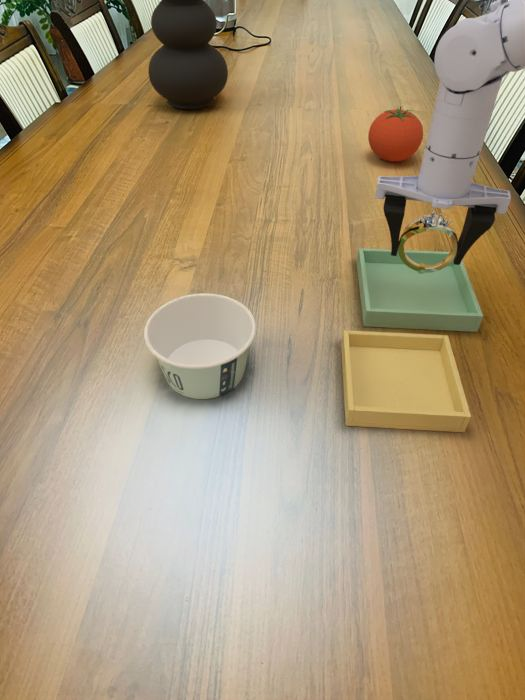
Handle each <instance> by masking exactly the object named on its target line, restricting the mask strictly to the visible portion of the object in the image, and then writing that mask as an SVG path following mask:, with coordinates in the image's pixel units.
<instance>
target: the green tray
mask: <svg viewBox="0 0 525 700" xmlns="http://www.w3.org/2000/svg"><path fill="white" fill-rule="evenodd" d="M391 249H392V248H390V249H389V248H388V249H387V248H368V247H367V248H366V247H364V248H363V247H361V248H360V247H359V248H358V251H357V259H356V271H357V279H358V288H359V289H358V290H359V297H360V299H359V300H360V308H361V315H362V325H363V327H367V328H386V329H387V328H388V329H407V330H408V329H409V330H430V331H451V332H469V333H470V332H472V333H477V332H479V329H480V327H481V323H482V321H483V319H484V314H483V311H482V309H481V306H480V303H479V301H478V298H477V295H476V293H475V290H474V288H473V287H474V286H473V284H472V282H471V280H470V276H469V274H468V271H467V269H466V266H465V263H464V261H463V260H462V261H461V263H460V265H455V264H454V259H453V261H452V262H451V263H450V264H449V265H448V266H446V267H445V268H443V269H441V270H439V271H436V272H431V273H424V274H420V273H418V271H415V270H413V269H411V268H409V267H408V266H406V265H405V264H404V263H403V262H402V260H401V259H400V256H399V253H398V252H397V256H392V255H391ZM404 251H405V253H406V255H407V256H408V258H409V259H410V260H412V261H413V262H415V263H417V264H420V263H424V264H426V265H435V264H438V263H440V262H442V261H443V260H444V259H445V258H446V257H447V256H448V255H449V253H450V251H441V250H440V251H438V250H437V251H436V250H416V249H414V250H412V249H404Z"/></svg>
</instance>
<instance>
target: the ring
mask: <svg viewBox="0 0 525 700" xmlns="http://www.w3.org/2000/svg"><path fill="white" fill-rule="evenodd" d="M446 219H447V216H445V215H444V216H443V217H442V213H438V214H436V211H432V212H431V214H424V215H422V216H420V217H418V218H415V219H414V220H412V221H411V222H410V223H408V224H407V226H406V227H405V228H404V230H403V231H402V233H401V234H400V236H399V244H398V253H399V256H400V259H401V260H402V262H403V263H404V264H405V265H406V266H408V267H409V268H411V269H413V270H415V271H418V273H420V274H424V273H431V272H436V271H439V270H441V269H443V268H445V267H446V266H448V265H449V264H450V263H451V262H452V261H453V259H454V257H455V255H456V252H457V248H458V240H459V238H458V235H457V232H456V231H455V229H454V228H453V227H452V226H451V225H450V223H451V222H452V220H451V219H448V220H447V221H446ZM421 224H422V225H421ZM427 230H432V231H440V232H443V233H445V234H446V235H447V236H448V238H449V239H450V244H451V246H450V250H449V252H450V253H449V255H448V256H447V257H446V258H445V259H444V260H443V261H442V262H440V263H438V264H435V265H426V264H424V263H420V264H417V263H415V262H413V261H412V260H410V259H409V258H408V256H407V255H406V253H405V251H404V250H405V243H407V241H408V240H409V239H410V238H412V237H413V236H415V235H418V234H422V233H424V232H425V233H426V231H427Z"/></svg>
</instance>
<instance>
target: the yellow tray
mask: <svg viewBox="0 0 525 700" xmlns="http://www.w3.org/2000/svg"><path fill="white" fill-rule="evenodd" d="M340 351H341V369H342V387H343V402H344V418H345V419H344V420H345V421H344V422H345V426H346V427H349V426H350V427H364V428H380V429H398V430H399V429H400V430H413V431H414V430H415V431H416V430H417V431H431V432H432V431H436V432H448V433H449V432H450V433H451V432H452V433H465V432H466V429H467V427H468V426H469V423H470V420H471V418H472V414H471V411H470V408H469V403H468V399H467V397H466V394H465V391H464V387H463V384H462V380H461V376H460V372H459V369H458V366H457V365H458V364H457V362H456V358H455V355H454V352H453V348H452V344H451V341H450V337H449V335H448V334H428V333H408V332H388V331H368V330H367V331H366V330H347V329H346V330H345V329H344V330H343V331H342V338H341V343H340Z"/></svg>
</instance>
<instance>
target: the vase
mask: <svg viewBox="0 0 525 700" xmlns="http://www.w3.org/2000/svg"><path fill="white" fill-rule="evenodd" d="M150 18H151V19H150V26H151V30H152V32H153V34H154V36H155V37H156V39H157V40H158V41H159V42H160V44H162V45H161V47H159V48H158V49H157V50H155V52H154V53H153V54H152V56H151V58H150V60H149V63H148V78H149V81H150V84H151V86H152V87H153V89H154V91H155V92H156V93H157V95H160V96H161V97H162V98H164V99H165V100H167V101H166V102H167V104H168V105H169V106H170V107H173V108H175V109H181V110H199V109H203V108H207V107H209V106H211V105H212V104H214V102H215V98H216V97H217V96H218V95H220V94H221V93H222V91H223V90H224V89H225V87H226V84H227V81H228V77H229V76H228V75H229V71H228V69H229V68H228V64H227V62H226V59H225V57H224V56H223V54H222V53H221V52H220V51H219V50H218V49H217V48H216V47H214V46H212V45H211V44H210V42H211V41H212V39H213V38H214V36H215V34H216V31H217V28H218V27H217V26H218V23H217V16H216V14H215V12H214V11H213V9H212V8H211V6H210V5H209V4H208V3H207V2H206V1H205V0H160V1H159V2H158V4H157V6H156V7H155V8H154V10H153V11H152V14H151V17H150Z"/></svg>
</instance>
